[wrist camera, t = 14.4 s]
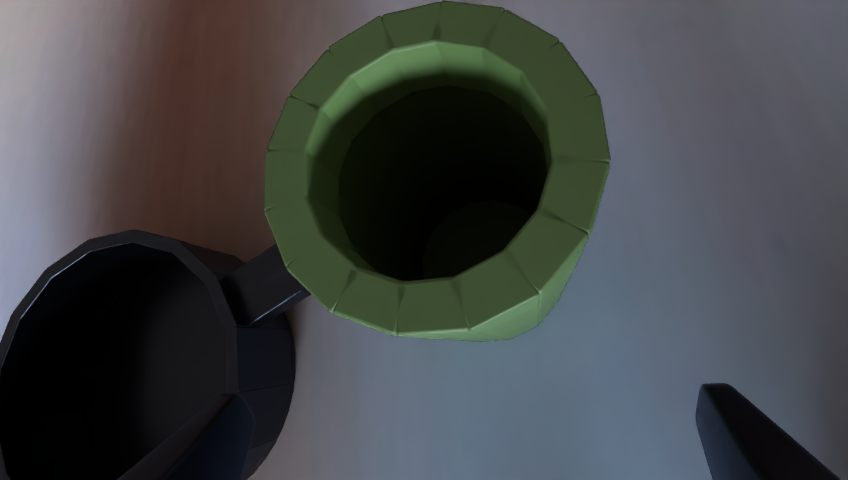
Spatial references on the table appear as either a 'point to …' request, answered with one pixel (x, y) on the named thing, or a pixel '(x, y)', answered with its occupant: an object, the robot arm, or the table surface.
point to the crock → (438, 173)
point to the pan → (141, 354)
